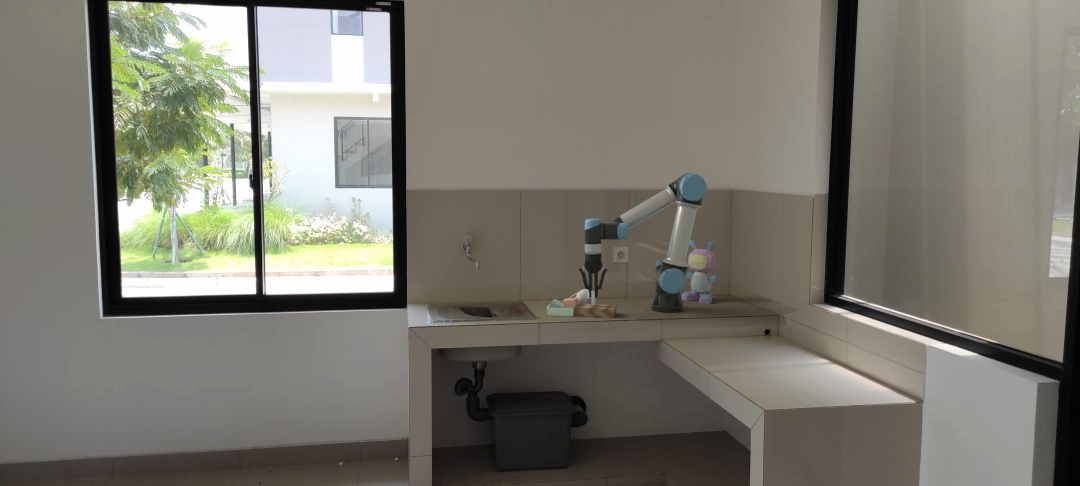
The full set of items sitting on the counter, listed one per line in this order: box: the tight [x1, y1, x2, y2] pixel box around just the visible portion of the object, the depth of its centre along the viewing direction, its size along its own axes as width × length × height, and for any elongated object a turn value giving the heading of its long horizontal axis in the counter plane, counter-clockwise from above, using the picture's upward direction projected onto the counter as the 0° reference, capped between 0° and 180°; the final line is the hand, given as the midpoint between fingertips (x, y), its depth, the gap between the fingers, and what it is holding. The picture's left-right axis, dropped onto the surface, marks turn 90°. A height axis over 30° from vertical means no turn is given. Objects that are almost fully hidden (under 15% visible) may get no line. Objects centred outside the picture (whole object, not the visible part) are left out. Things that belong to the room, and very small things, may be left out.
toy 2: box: [681, 239, 720, 305], centre depth 390 cm, size 18×11×30 cm, turn 43°
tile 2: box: [561, 297, 579, 307], centre depth 359 cm, size 6×6×3 cm
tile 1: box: [548, 298, 565, 308], centre depth 360 cm, size 6×6×3 cm
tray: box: [545, 304, 575, 318], centre depth 360 cm, size 12×13×4 cm
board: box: [573, 303, 618, 319], centre depth 357 cm, size 18×10×4 cm, turn 76°
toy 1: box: [569, 288, 591, 304], centre depth 376 cm, size 13×9×15 cm
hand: (593, 304), depth 357 cm, fingers closed
